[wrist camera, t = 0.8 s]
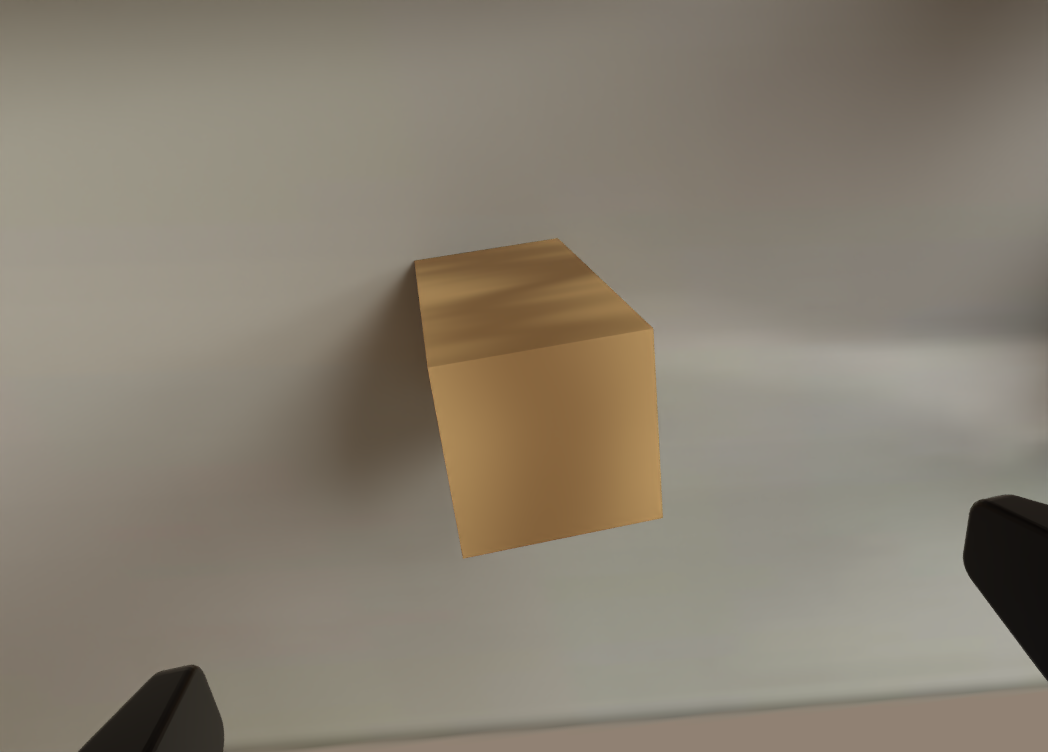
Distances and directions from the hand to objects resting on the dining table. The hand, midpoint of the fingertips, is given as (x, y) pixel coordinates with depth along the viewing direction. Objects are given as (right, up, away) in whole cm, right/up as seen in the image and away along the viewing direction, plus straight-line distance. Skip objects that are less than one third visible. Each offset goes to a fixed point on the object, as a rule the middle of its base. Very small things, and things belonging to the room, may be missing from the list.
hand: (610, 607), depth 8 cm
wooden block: (-2, +4, +12) cm, 13 cm away
